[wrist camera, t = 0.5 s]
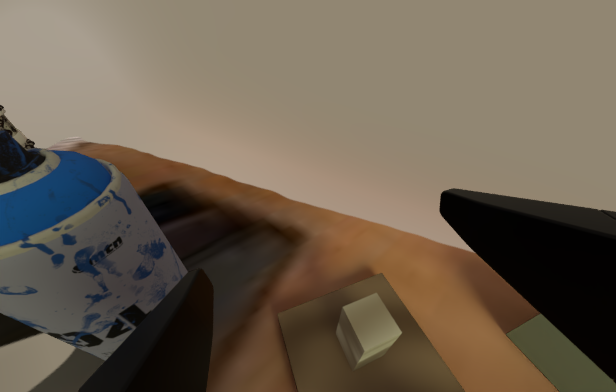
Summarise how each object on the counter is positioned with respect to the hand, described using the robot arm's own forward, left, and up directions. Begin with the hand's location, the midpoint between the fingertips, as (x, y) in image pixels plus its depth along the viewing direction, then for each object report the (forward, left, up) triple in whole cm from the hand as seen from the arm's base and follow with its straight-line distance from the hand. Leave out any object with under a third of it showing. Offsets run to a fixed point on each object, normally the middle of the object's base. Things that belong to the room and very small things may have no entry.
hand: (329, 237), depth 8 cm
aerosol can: (+8, +12, -18) cm, 23 cm away
